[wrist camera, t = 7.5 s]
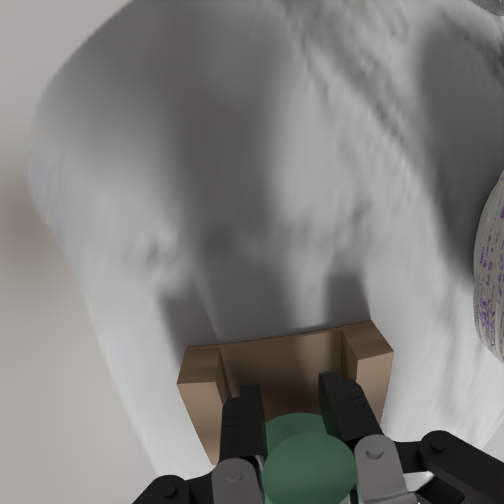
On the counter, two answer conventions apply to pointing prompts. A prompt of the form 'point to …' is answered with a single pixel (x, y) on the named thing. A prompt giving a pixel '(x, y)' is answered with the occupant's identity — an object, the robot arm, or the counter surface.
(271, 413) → the cradle
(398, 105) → the counter surface
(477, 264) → the paper bowls
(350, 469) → the bottle
